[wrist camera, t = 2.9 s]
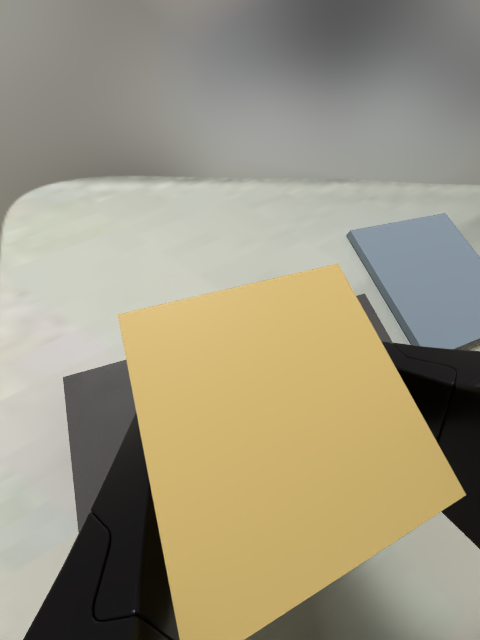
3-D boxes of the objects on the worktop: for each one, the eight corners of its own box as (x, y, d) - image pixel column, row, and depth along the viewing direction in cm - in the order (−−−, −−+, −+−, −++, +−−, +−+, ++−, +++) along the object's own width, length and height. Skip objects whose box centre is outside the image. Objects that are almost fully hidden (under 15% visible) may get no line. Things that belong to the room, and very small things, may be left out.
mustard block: (273, 437, 14) (466, 495, 4) (197, 470, 13) (186, 677, 3) (247, 363, 15) (337, 263, 5) (176, 386, 14) (118, 314, 4)
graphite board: (399, 414, 16) (433, 413, 13) (107, 552, 11) (84, 588, 9) (343, 308, 18) (364, 293, 16) (86, 384, 13) (63, 377, 11)
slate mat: (519, 321, 21) (528, 318, 20) (421, 361, 18) (428, 359, 17) (439, 217, 25) (445, 213, 24) (346, 235, 21) (350, 230, 21)
